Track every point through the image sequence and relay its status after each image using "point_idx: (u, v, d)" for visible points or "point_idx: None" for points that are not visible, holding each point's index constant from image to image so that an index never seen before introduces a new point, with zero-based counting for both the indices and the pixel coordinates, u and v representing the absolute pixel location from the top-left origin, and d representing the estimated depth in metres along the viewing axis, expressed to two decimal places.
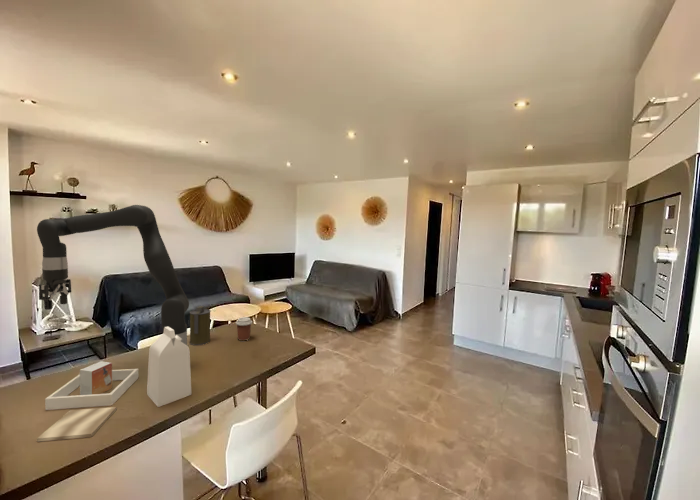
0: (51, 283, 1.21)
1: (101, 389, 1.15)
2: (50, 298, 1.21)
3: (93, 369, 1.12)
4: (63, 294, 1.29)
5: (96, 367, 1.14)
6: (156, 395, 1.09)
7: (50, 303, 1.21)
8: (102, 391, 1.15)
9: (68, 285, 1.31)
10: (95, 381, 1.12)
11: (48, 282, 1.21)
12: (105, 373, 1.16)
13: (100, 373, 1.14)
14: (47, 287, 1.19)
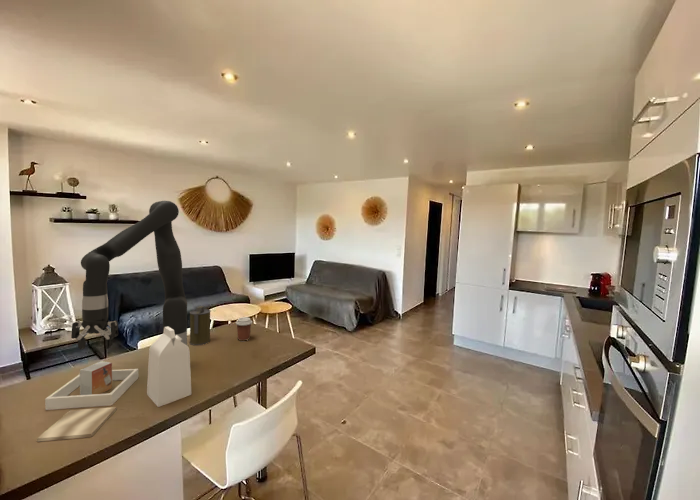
0: None
1: (101, 389, 1.15)
2: None
3: (93, 369, 1.12)
4: (83, 337, 1.14)
5: (96, 367, 1.14)
6: (156, 395, 1.09)
7: None
8: (102, 391, 1.15)
9: (79, 327, 1.14)
10: (95, 381, 1.12)
11: (106, 320, 1.15)
12: (105, 373, 1.16)
13: (100, 373, 1.14)
14: None
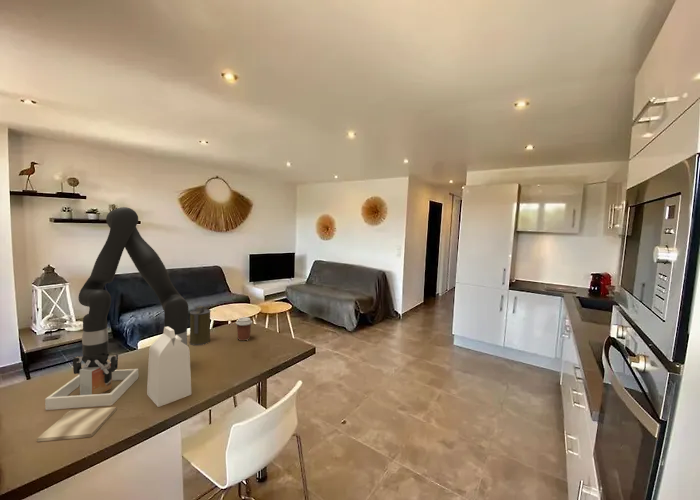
0: None
1: (101, 389, 1.15)
2: None
3: (93, 369, 1.12)
4: None
5: (96, 367, 1.14)
6: (156, 395, 1.09)
7: None
8: (102, 391, 1.15)
9: (80, 362, 1.15)
10: (95, 381, 1.12)
11: (106, 354, 1.16)
12: (105, 373, 1.16)
13: (100, 373, 1.14)
14: None
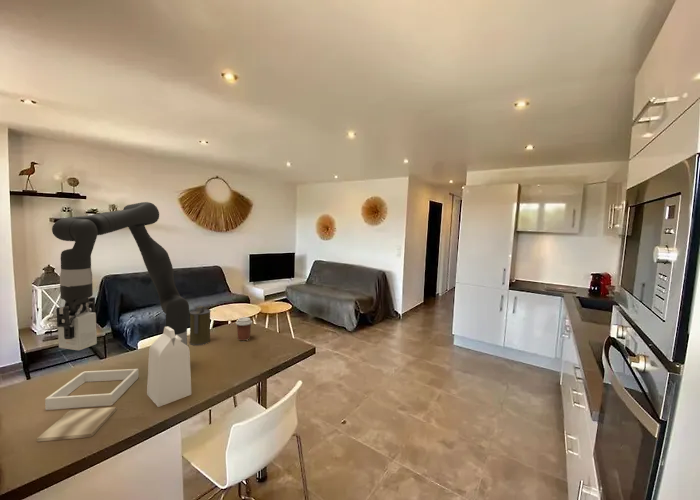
0: None
1: None
2: None
3: (89, 312, 0.97)
4: None
5: (84, 312, 0.96)
6: (156, 395, 1.09)
7: None
8: None
9: None
10: None
11: None
12: None
13: None
14: None
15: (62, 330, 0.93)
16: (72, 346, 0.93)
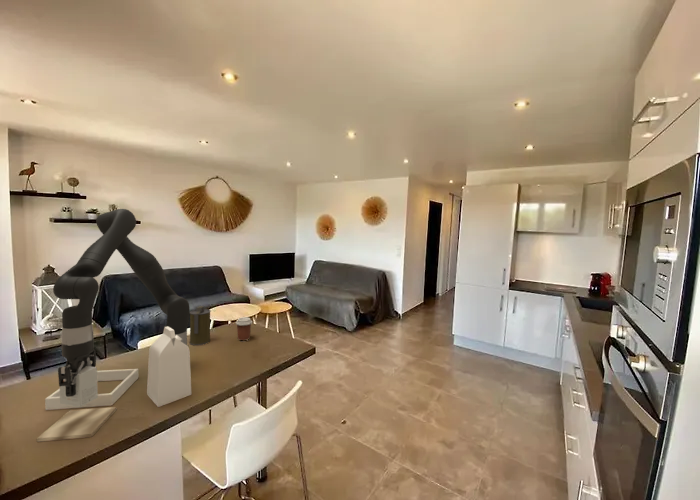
0: None
1: None
2: None
3: (90, 367, 0.98)
4: None
5: (85, 367, 0.97)
6: (156, 395, 1.09)
7: None
8: None
9: None
10: None
11: None
12: None
13: None
14: None
15: (63, 387, 0.95)
16: (73, 403, 0.94)
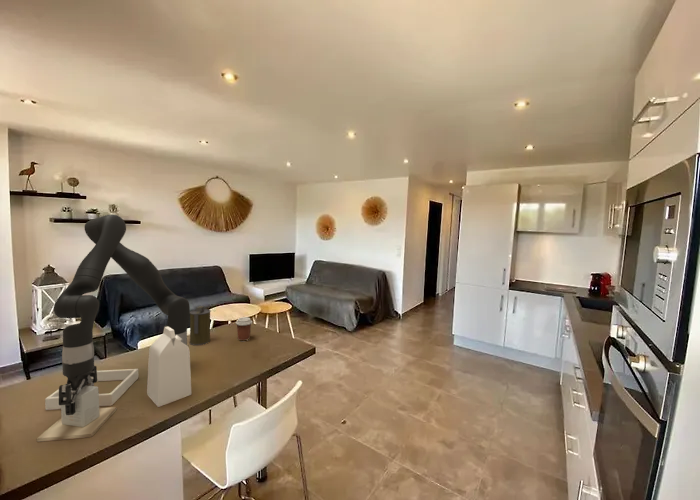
0: None
1: None
2: None
3: (92, 387, 0.99)
4: None
5: (86, 387, 0.98)
6: (156, 395, 1.09)
7: None
8: None
9: None
10: None
11: None
12: None
13: None
14: None
15: None
16: (76, 423, 0.95)
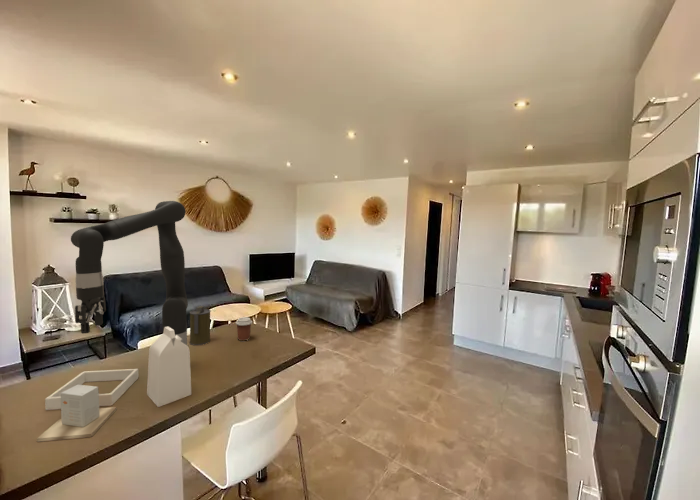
0: None
1: None
2: None
3: (92, 387, 0.99)
4: None
5: (86, 387, 0.98)
6: (156, 395, 1.09)
7: None
8: None
9: None
10: None
11: None
12: None
13: None
14: None
15: (65, 407, 0.95)
16: (76, 423, 0.95)
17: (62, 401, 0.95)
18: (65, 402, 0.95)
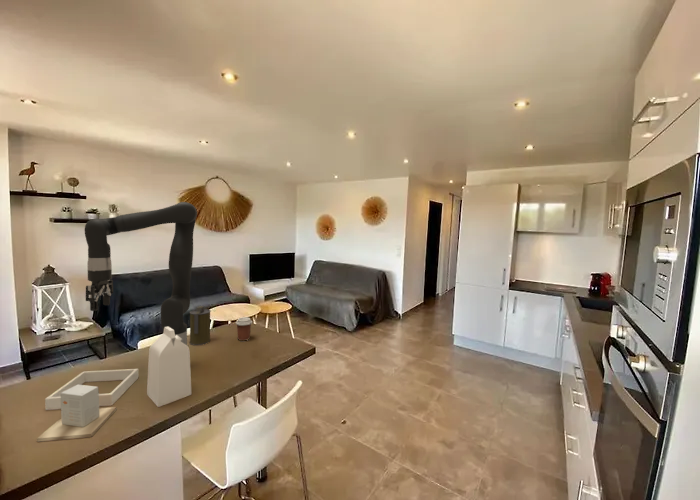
0: None
1: None
2: None
3: (92, 387, 0.99)
4: None
5: (86, 387, 0.98)
6: (156, 395, 1.09)
7: None
8: None
9: None
10: None
11: None
12: None
13: None
14: None
15: (65, 407, 0.95)
16: (76, 423, 0.95)
17: (62, 401, 0.95)
18: (65, 402, 0.95)
